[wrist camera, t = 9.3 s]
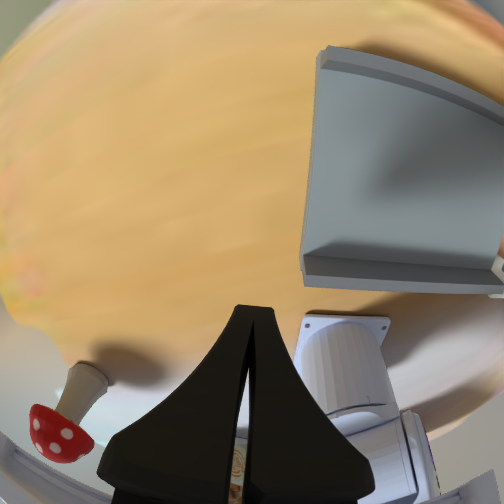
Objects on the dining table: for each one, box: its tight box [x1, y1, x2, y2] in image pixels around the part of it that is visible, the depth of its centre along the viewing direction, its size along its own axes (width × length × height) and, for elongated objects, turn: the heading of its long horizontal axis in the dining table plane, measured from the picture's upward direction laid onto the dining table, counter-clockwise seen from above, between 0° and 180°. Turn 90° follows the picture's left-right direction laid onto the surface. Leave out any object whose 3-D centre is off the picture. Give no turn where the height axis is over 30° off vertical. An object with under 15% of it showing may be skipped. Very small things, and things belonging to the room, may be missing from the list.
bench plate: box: [299, 46, 504, 294], centre depth 15 cm, size 14×17×4 cm
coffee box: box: [228, 437, 248, 504], centre depth 28 cm, size 9×6×16 cm
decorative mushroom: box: [29, 363, 108, 464], centre depth 25 cm, size 10×9×15 cm
